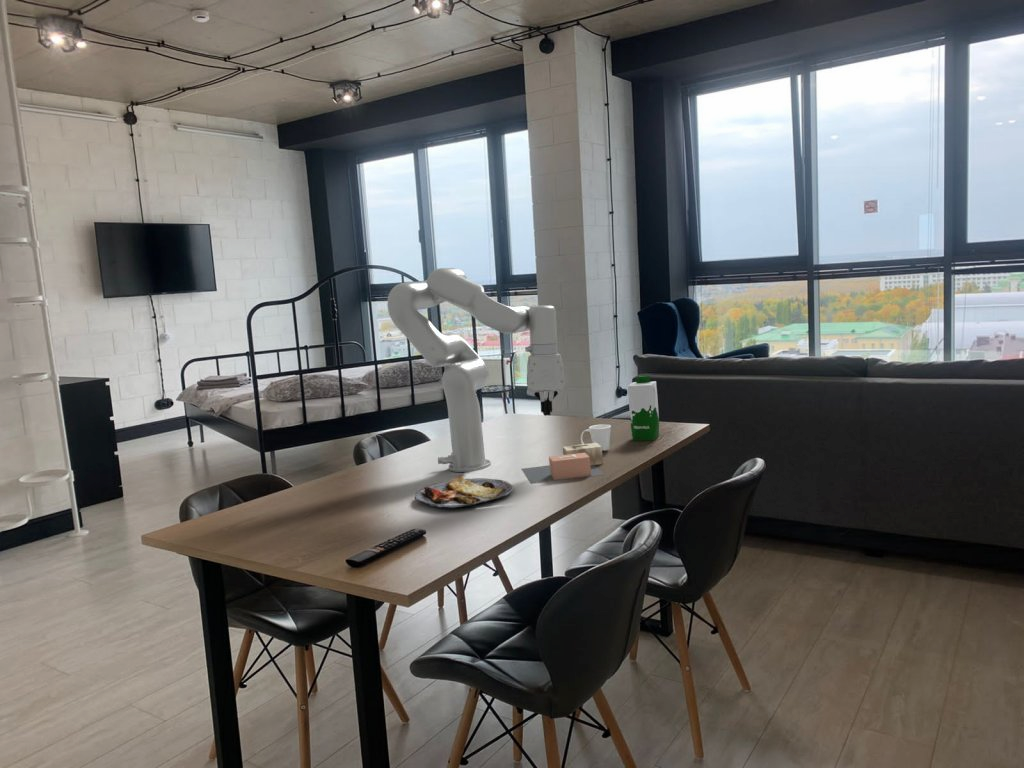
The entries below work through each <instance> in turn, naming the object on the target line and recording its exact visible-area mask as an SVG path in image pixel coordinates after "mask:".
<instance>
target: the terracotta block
mask: <svg viewBox="0 0 1024 768" xmlns="http://www.w3.org/2000/svg"><path fill="white" fill-rule="evenodd" d="M548 461H549V463H548V464H549V465H550V475H551V476H552V477H553V479H554V480H557V479H565V478H573V477H581V476H590V475H591V466H590V457H589V456H588V455H587V454H586V453H577V454H569V455H563V454H562V455H553V456H548Z"/></svg>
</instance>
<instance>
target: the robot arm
mask: <svg viewBox="0 0 1024 768" xmlns="http://www.w3.org/2000/svg"><path fill="white" fill-rule="evenodd" d="M445 302H447V303H448V304H451V305H453V306H455V307H458V308H459V309H461V310H464V311H465V312H468V313H469V314H470V315H471V316H472V317H473V318H474V319H475V320H477V322H479V323H481V324H483V325H485V326H487V327H488V328H491V329H493V330H495V331H497V332H499V333H502V334H505V335H513V334H516V333H522V332H527V331H529V342H530V344H529V346H525V348H524V350H525V353H526V352H528V353H530V354H529V355H528V356H527V366H526V387H527V390H526V395H527V396H531V397H536V398H537V399H538V400H539V401H540V412H541V413H542V415H543V416H545V417H546V416H551V413H552V412H553V401H554V399H555V398H556V397H557V396H558V395H561V394H564V393H566V390H565V372H564V364H563V359H562V356H561V353H558V333H557V331H558V330H557V329H558V328H557V310H556V308H555V307H554V306H553V305H547V304H545V305H534V306H531V305H525V304H524V305H522V304H521V305H520V304H519V305H511V306H508V305H506V304H503V303H500V302H498V301H497V300H494V299H493V298H492V297H489V296H488V295H487V294H486V292H485V287H484V286H483V285H481V284H479V283H477V282H475V281H473V280H471V279H469V278H468V277H467V276H466V274H465V273H464V271H462V270H461V269H459V268H455V267H444V268H443V267H441V268H436V269H434V270H432V271H431V272H430V273H429V275H428V276H427V279H426V280H422V281H405V282H401V283H398V284H396V285H395V286H393V288H392V289H391V290H390V291H389V293H388V297H387V313H388V314H389V318H390V319H391V321H392V322H393V324H394V326H395V327H396V328H397V329H398V330H399V331H400V332H401V333H402V335H404V337H406V338H407V340H408V341H409V342H410V343H411V345H412V346H413V347H414V348H415V349H416V351H417V352H418V353H419V354H420V355H421V356H422V357H423V359H424V360H425V361H426V362H427V364H428V365H430V366H431V367H433V368H441V367H445V366H447V367H446V369H444V372H443V373H442V378H441V382H442V383H441V384H442V388H443V392H444V396H445V400H446V406H447V415H448V423H449V424H448V425H449V432H450V443H451V452H450V454H449V455H447V456H440V457H437V464H438V465H440V464H442V465H447V464H449V465H448V470H449V471H450V472H455V473H465V472H467V473H468V472H474V471H480V470H484V469H486V468H488V467H490V466H492V465H491V463H492V461H491V460H490V459H487V458H486V454H485V444H484V433H483V422H482V414H481V407H480V406H481V405H480V401H479V398H478V395H477V393H476V391H477V390H478V391H479V390H480V389H482V388H484V387H485V386H486V385H487V384H488V382H489V379H490V370H489V368H488V365H487V364H486V363H485V361H484V360H483V359H482V357H480V356H479V354H478V353H477V352H476V350H474V349H473V347H472V346H471V345H470V344H469V343H468V342H467V341H466V340H465V339H464V338H463V337H462V336H460V335H458V334H457V333H453V332H452V333H451V332H449V333H448V332H446V333H443V332H440V331H439V330H438V328H436V326H435V325H434V324H433V323H432V322H431V321H430V320H429V319H428V318H427V317H426V316H425V315H423V314H422V313H420V310H427V309H430V308H434V307H435V306H438V305H440V304H443V303H445ZM545 392H547V394H546V395H547V398H546V396H545Z"/></svg>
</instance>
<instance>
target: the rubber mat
mask: <svg viewBox="0 0 1024 768" xmlns="http://www.w3.org/2000/svg"><path fill="white" fill-rule="evenodd" d="M590 466H591V475H590V476H581V477H573V478H565V479H557V480H554V479H553V477H552V476H551V475H550V464H549V465H542V466H532V467H524V468H521V470H522V472H523V473H524V476H525V477H526V478H527V480H528V482H529V483H530V484H531V485H532V484H541V483H549V482H556V481H564V480H565V481H566V480H572V479H581V478H590V477H591V478H592V477H598V476H605V475H606V474H605V473H604V472H602V470H601V469H599V468H598V467H597V466H596V465H590Z"/></svg>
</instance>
